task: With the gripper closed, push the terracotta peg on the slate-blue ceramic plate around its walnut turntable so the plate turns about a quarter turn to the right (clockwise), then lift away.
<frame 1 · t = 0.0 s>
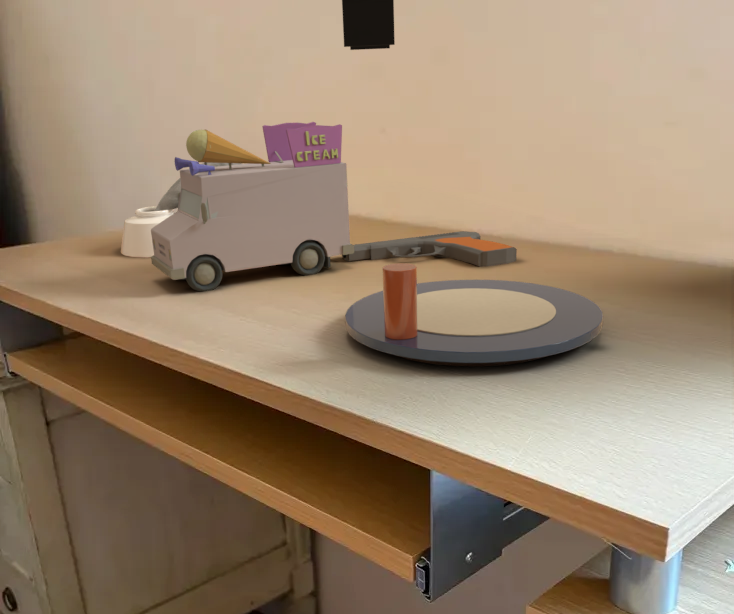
hand: (369, 48, 51), 21 cm above the table, tool pointing down, fingers open, 13 cm apart
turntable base: (471, 334, 66), on the table
toy vehicle: (255, 278, 87), on the table
handgun: (429, 263, 90), on the table
plate: (471, 284, 64), point 4 cm above the table, hinge at 0.0°
inkwell: (192, 247, 104), on the table
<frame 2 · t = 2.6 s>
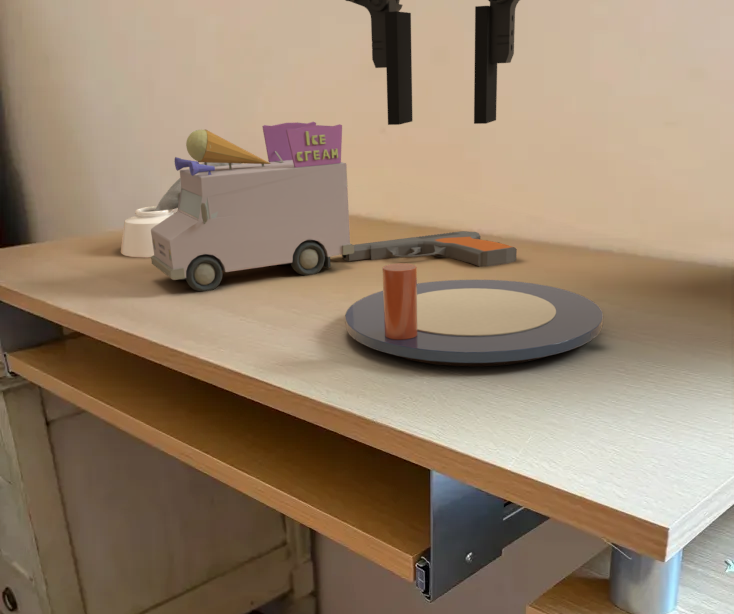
hand: (442, 121, 53), 17 cm above the table, tool pointing down, fingers open, 5 cm apart
nothing on the table moved.
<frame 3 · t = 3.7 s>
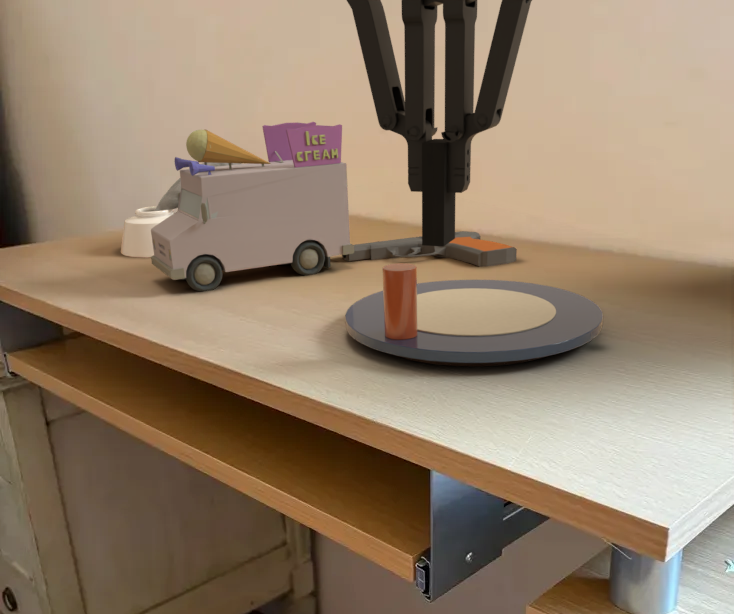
hand: (438, 241, 56), 9 cm above the table, tool pointing down, fingers closed
nothing on the table moved.
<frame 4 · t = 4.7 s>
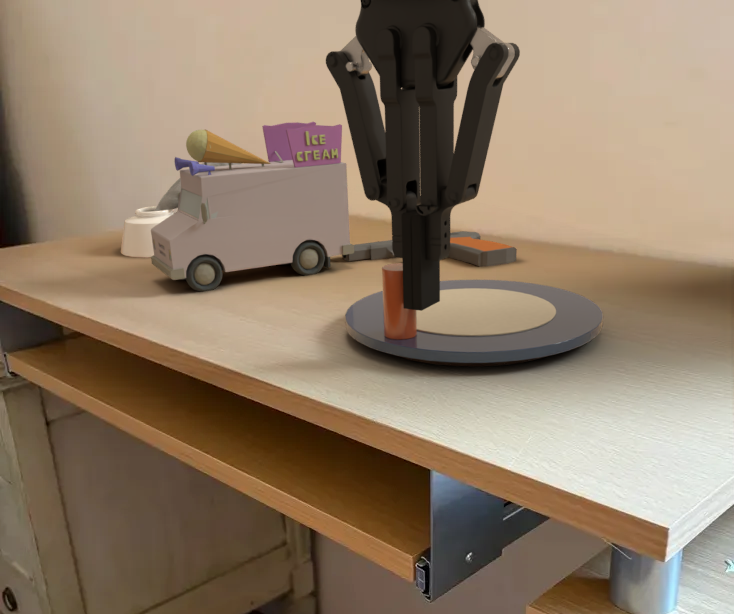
hand: (421, 304, 58), 5 cm above the table, tool pointing down, fingers closed
plate: (471, 284, 64), point 4 cm above the table, hinge at -0.5°, touching gripper
everything else where it was.
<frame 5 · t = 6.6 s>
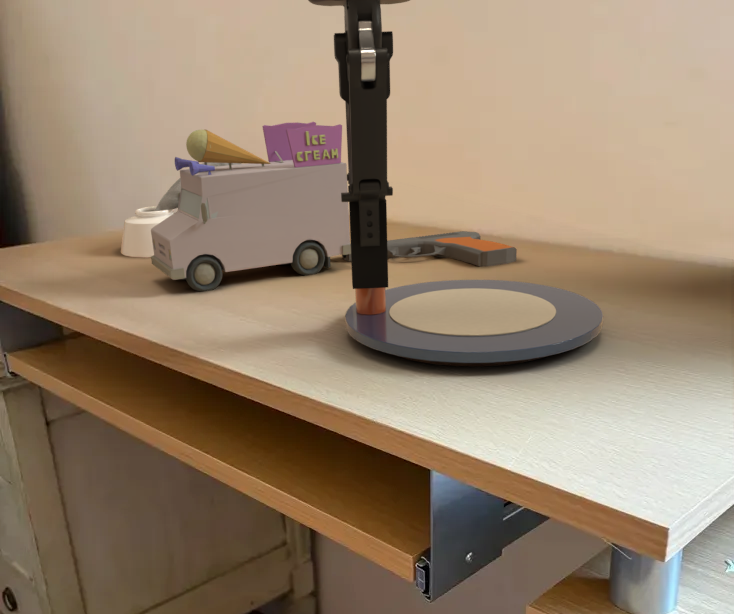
hand: (370, 285, 64), 5 cm above the table, tool pointing down, fingers closed
plate: (471, 284, 64), point 4 cm above the table, hinge at -51.2°, touching gripper
everything else where it was.
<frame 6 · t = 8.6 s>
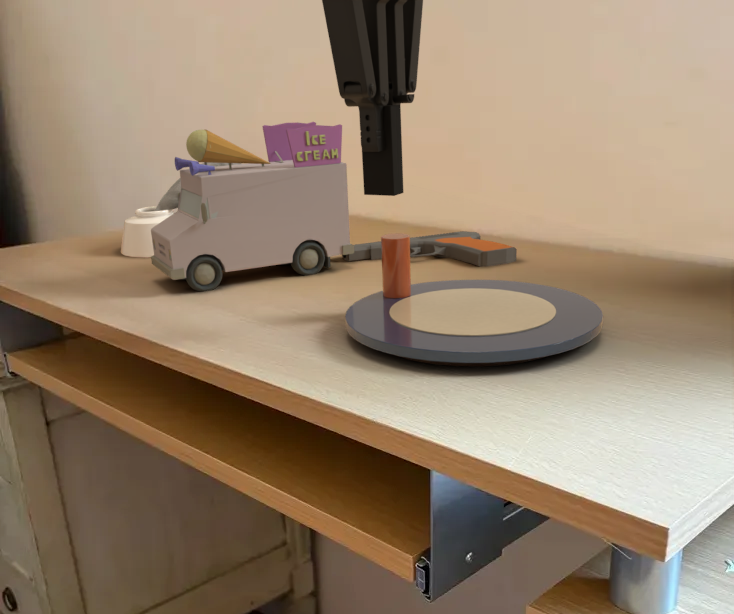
hand: (383, 193, 65), 11 cm above the table, tool pointing down, fingers closed
plate: (471, 284, 64), point 4 cm above the table, hinge at -88.2°
everything else where it was.
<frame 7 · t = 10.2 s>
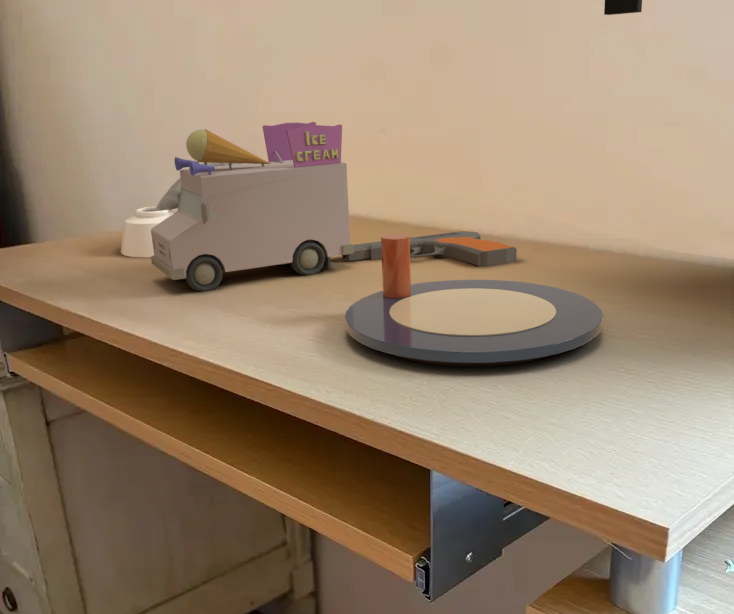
hand: (622, 13, 69), 23 cm above the table, tool pointing down, fingers closed
nothing on the table moved.
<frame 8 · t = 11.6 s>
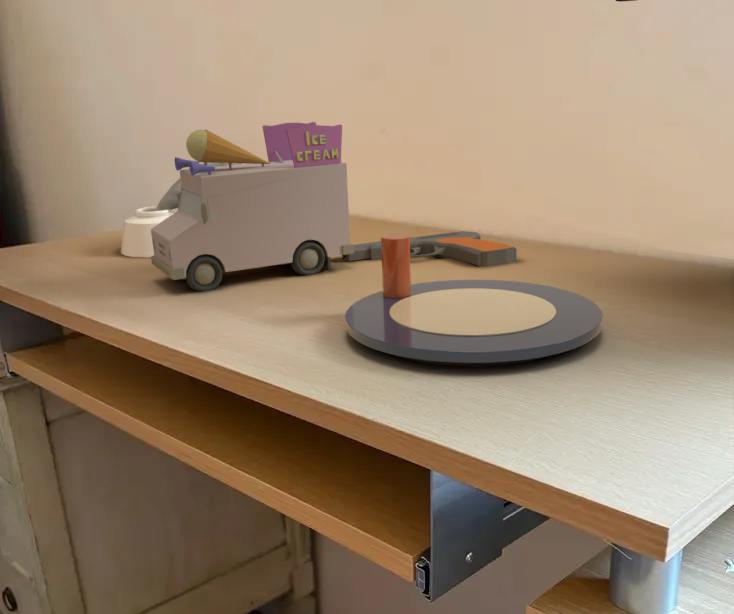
nothing on the table moved.
at the end: plate at -88° (first picture: +0°) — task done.
